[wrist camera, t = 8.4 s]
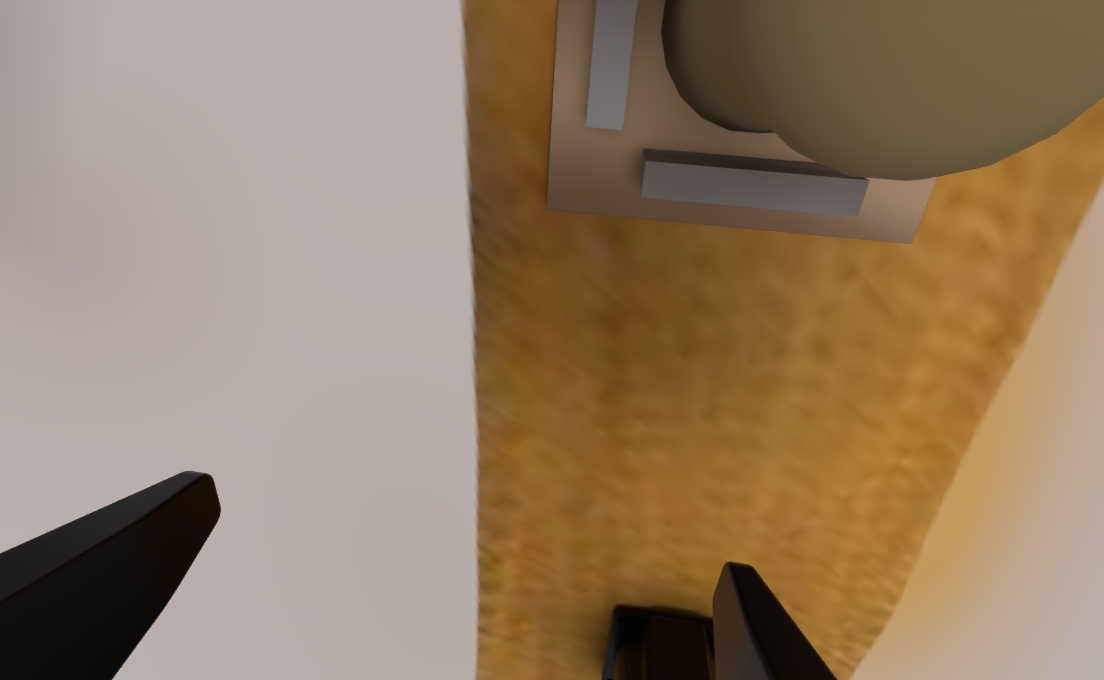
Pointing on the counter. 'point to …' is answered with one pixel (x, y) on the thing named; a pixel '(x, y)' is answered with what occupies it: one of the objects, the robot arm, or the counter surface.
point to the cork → (889, 76)
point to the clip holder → (689, 145)
